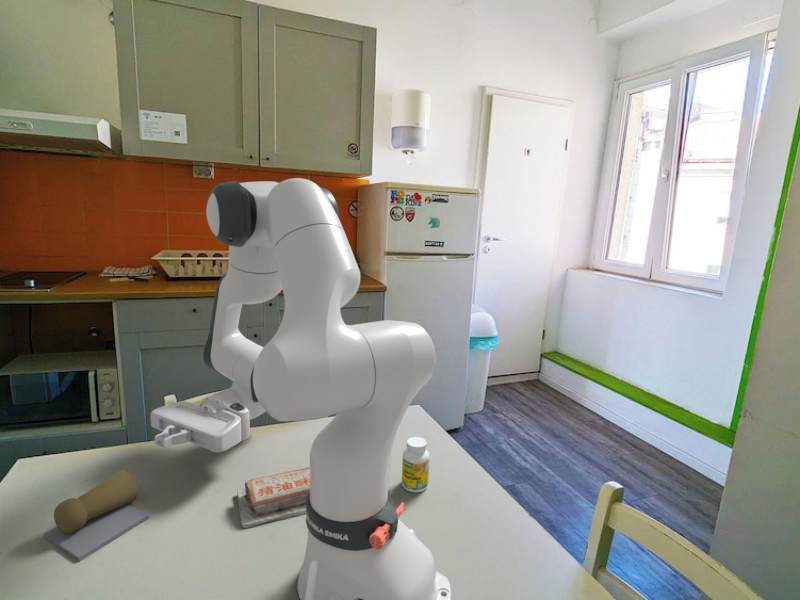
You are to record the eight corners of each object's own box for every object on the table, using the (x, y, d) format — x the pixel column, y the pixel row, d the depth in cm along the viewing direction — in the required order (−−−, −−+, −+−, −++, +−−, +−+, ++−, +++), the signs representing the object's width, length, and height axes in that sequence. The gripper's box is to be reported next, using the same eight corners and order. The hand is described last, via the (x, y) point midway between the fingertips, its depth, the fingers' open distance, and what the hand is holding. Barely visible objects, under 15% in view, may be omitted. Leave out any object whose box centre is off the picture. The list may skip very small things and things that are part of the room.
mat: (149, 517, 75) (149, 514, 75) (79, 561, 65) (79, 557, 65) (114, 498, 79) (114, 495, 79) (44, 537, 70) (43, 533, 70)
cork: (128, 506, 79) (60, 545, 70) (112, 478, 80) (43, 512, 71) (142, 493, 77) (74, 531, 67) (125, 464, 78) (56, 497, 68)
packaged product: (329, 455, 89) (344, 482, 80) (328, 476, 90) (343, 505, 81) (236, 473, 81) (241, 506, 73) (236, 496, 82) (242, 531, 74)
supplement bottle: (431, 481, 89) (433, 438, 87) (423, 496, 84) (425, 451, 82) (406, 474, 91) (408, 432, 89) (397, 489, 86) (399, 445, 84)
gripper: (185, 389, 97) (123, 413, 85) (254, 411, 88) (196, 442, 76) (187, 415, 98) (126, 442, 86) (254, 439, 89) (197, 474, 77)
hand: (159, 442), depth 81 cm, fingers closed
